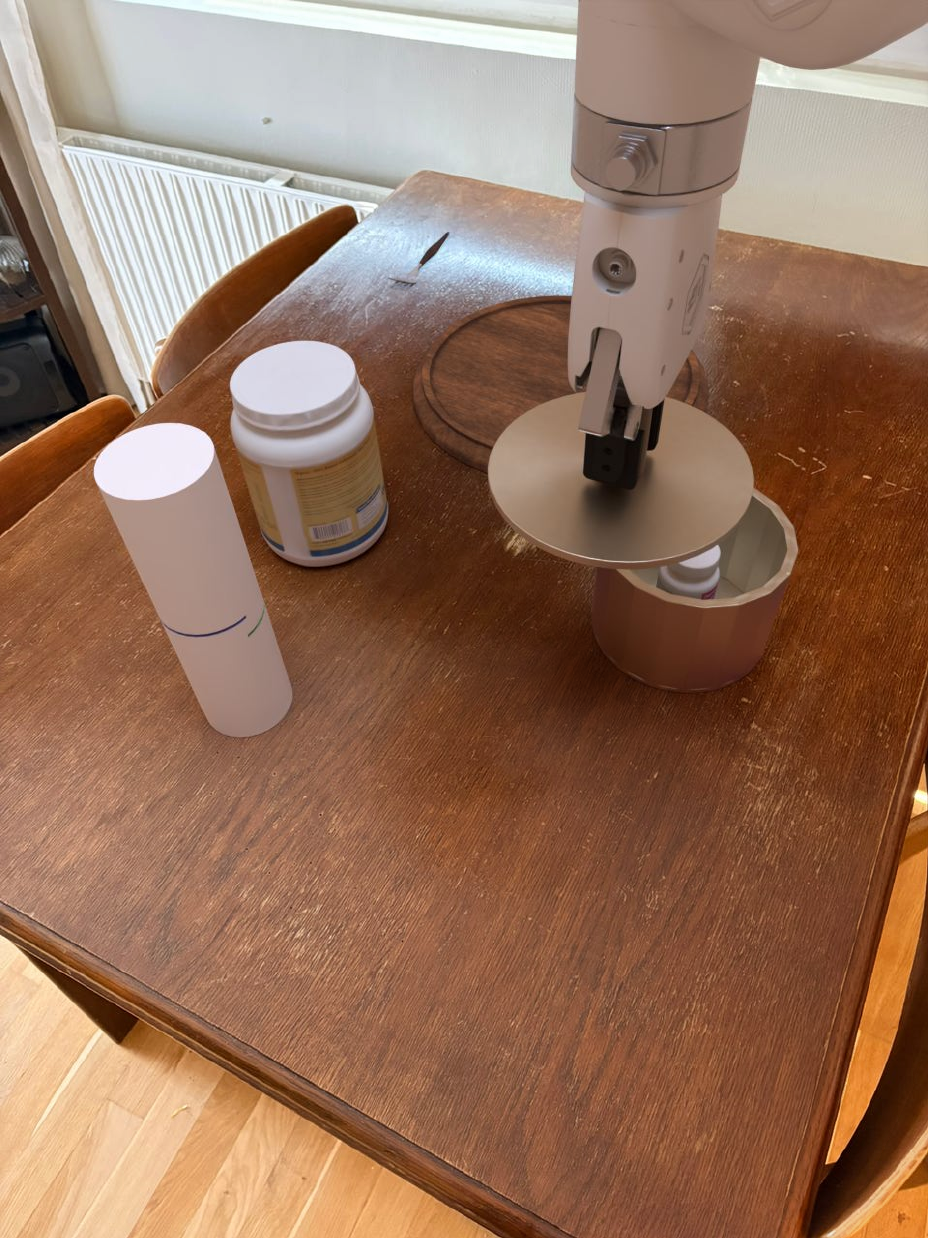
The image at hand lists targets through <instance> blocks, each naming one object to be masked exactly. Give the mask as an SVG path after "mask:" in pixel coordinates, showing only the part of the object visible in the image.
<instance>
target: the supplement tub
mask: <svg viewBox="0 0 928 1238" xmlns="http://www.w3.org/2000/svg"><path fill="white" fill-rule="evenodd" d="M229 390H230V395H231V402H232V407H233V408H232V411H231V416H230V433H231V438H232V441H233V443H234V447H235V450H236V453H237V456H238V460H239V463H240V467H241V469H242V473H243V476H244V480H245V483H246V486H247V490H248V493H249V496H250V500H251V502H252V506H253V510H254V513H255V516H256V519H257V522H258V526H259V530H260V533H261V535H262V537H263V539H264V541H265V542H266V544H267V545H268V546H269V548H270V549H271V550H272V551H273V552H274V553H275V554H276V555H278V556H279V557H281V558H282V559H283V560H286V561H288V562H290V563H293V564H295V565H299V566H303V567H315V568H316V567H317V568H318V567H329V566H333V565H339V564H342V563H345V562H347V561H350V560H352V559H354V558H357V557H358V556H360V555H361V554H363V553H365V552H366V551H367V550H369V549H370V548H371V547H372V546H373V545H374V544H375V543H376V542H378V540H379V538H381V535H382V534H383V532H384V530H385V528H386V526H387V524H388V518H389V517H388V516H389V504H388V503H389V502H388V500H387V492H386V487H385V481H384V474H383V468H382V461H381V460H382V459H381V454H380V448H379V440H378V434H377V433H378V432H377V427H376V421H375V411H374V406H373V404H372V401H371V397H370V395H369V394H368V392H367V390H366V389H365V387H364V386H363V385H362V384H361V382H360V377H359V376H358V373H357V370H356V365H355V362H354V361H353V359H352V357H351V356H350V354H348V352H346V351H345V350H343V349H342V348H340V347H339V346H336V345H334V344H331V343H327V342H323V341H316V340H292V341H287V342H282V343H277V344H274V345H270V346H268V347H265V348H262V349H261V350H258V351H256V352H254V353H253V354H251V355H250V356H248V357H246V358H245V359H244V360H243V361H242V362H241V363H239V364H238V365H237V367H236V368H235V370H234V371H233V373H232V374H231V377H230V381H229Z"/></svg>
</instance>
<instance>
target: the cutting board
mask: <svg viewBox="0 0 928 1238" xmlns="http://www.w3.org/2000/svg"><path fill="white" fill-rule="evenodd" d="M571 300H572V295H561V294H559V295H558V294H556V295H538V296H537V295H536V296H531V297H523V298H515V299H512V300H508V301H503V302H498V303H496V304H494V305H490V306H487V307H485V308H481V309H479V310H477V311H475V312H473V313H470V314H468V315H466V316H465V317H463V318H461V319H459V320H458V321H456V322H454V323H453V324H451V326H449V327H448V328H446V330H444V331H443V332H442V333H440V335H439V336H438V337H437V338H436V340H435V341H434V342H433V343H432V344H431V346H430V348H428V350H427V351H426V353H424V355H423V356H422V358H421V360H420V362H419V364H418V365H417V368H416V371H415V374H414V378H413V382H412V401H413V407H414V411H415V414H416V417H417V420H418V421H419V423H420V425H421V427H422V429H423V430H424V432H425V433H426V434H427V435H428V437H430V439H431V440H432V441H433V442H434V444H436V446H438V447H440V448H441V449H442V450H443V451H444V452H446V453H447V455H450V456H451V457H453V458H454V459H456V460H458V461H460V462H461V463H463V464H465V465H467V466H469V467H471V468H474V469H476V470H478V471H481V472H483V473H486V474H488V464H489V458H490V455H491V452H492V449H493V447H494V445H495V443H496V442H497V440H498V438H499V437H500V435H501V434H502V433H503V432H504V430H505V429H506V428H507V427H508V426H509V425H510V424H511V423H512V422H514V421H515V420H516V419H517V418H519V417H520V416H521V415H523V414H524V413H526V412H527V411H529V410H531V409H533V408H535V407H537V406H538V405H541V404H543V403H546V402H548V401H551V400H553V399H557V398H560V397H563V396H567V395H572V394H576V393H581V392H586V389H587V384H588V382H587V384H586V385H585V386H584V388H583V389H582V390H581V391H579V392H575V390H574V389H573V388H572V386H571V385H570V382H569V378H568V339H569V324H570V311H571ZM708 382H709V381H708V377H707V374H706V371H705V368H704V366H703V364H702V363H701V361H700V360H699V358H698V356H697V355H696V353H695V352H694V350H693V349H692V350H691V352H690V354H689V355H688V357H687V359H686V361H685V363H684V365H683V367H682V369H681V370H680V372H679V374H678V376H677V378H676V379H675V381H674V383H673V385H672V387H671V388H670V390H669V392H668V394H667V395H666V397H668V398H671V399H675V400H677V401H680V402H683V403H685V404H688V405H690V406H692V407H695V408H697V409H699V410H701V411H703V412H704V413H706V412H707V407H708V402H709V397H710V396H709V394H710V393H709V383H708Z"/></svg>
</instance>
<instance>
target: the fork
mask: <svg viewBox="0 0 928 1238" xmlns="http://www.w3.org/2000/svg"><path fill="white" fill-rule="evenodd" d="M449 234H450V231H447V232H445V233H444V234H443V235H442V236H441V237H440V238H439V239H438V240H436V242H434V243H433V244H432V245H431V246H429V248H428V249H427V250H426V251H425V253H424V254H423V256H422V258H421V259H420V260H419V263H418V264H417V265H416V267H414V268H413V269H412V270H410V271H409V272H407V273H406V276H408V277H415V278H416V277H417V278H418V277H419V276H420V274H419V269H420V268H421V267H422V266H424V265H425V264H426V263H428V261H430V260H431V259H432V258H433V257H434V256H435V255H436V254H437V253H438V251H439V249H440V248H441V246H442V245H443V244H444V243H445V241H446V239H447V237H449ZM408 277H407V278H406V277H399V278H392V277H388V279H387V280H390V281H395V282H401V283H406V284H411V285H412V284H417V283H418V280H416V279H412V278H408Z"/></svg>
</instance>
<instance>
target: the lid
mask: <svg viewBox="0 0 928 1238" xmlns="http://www.w3.org/2000/svg"><path fill="white" fill-rule="evenodd" d="M585 394H586V392H581V393H576V394H572V395H567V396H563V397H560V398H557V399H553V400H551V401H548V402H546V403H543V404H541V405H538V406H537V407H535V408H533V409H531V410H529V411H527V412H526V413H524V414H523V415H521V416H520V417H519V418H517V419H516V420H515V421H514V422H512V423H511V424H510V425H509V426H508V427H507V428H506V429H505V430H504V432H503V433H502V434H501V435H500V437H499V438H498V440H497V442H496V443H495V445H494V447H493V449H492V452H491V455H490V458H489V464H488V473H487V477H488V478H487V480H488V489H489V494H490V497H491V499H492V502H493V504H494V507H495V508H496V510H497V512H498V513H499V514H500V516H501V518H502V519H503V520H504V521H505V523H507V525H508V526H509V527H510V528H511V529H512V530H513V531H514V532H516V534H518V535H519V536H520V537H522V538H523V539H524V540H525V541H527V542H529V543H530V544H532V545H533V546H535V547H536V548H538V549H540V550H543V551H544V552H546V553H548V554H551V555H553V556H555V557H558V558H561V559H563V560H567V561H569V562H571V563H572V562H573V563H576V564H580V565H584V566H589V567H594V568H596V567H601V568H608V569H626V570H628V569H647V568H655V567H662V566H667V565H671V564H675V563H679V562H683V561H685V560H688V559H691V558H694V557H696V556H699V555H701V554H703V553H705V552H706V551H708V550H710V549H712V548H714V547H715V546H717V545H718V544H720V543H721V542H722V541H724V540H725V539H726V538H727V537H728V536H729V535H730V534H731V533H733V532H734V531H735V530H736V528H737V527H738V526H739V524H740V523H741V522H742V520H743V519H744V517H745V515H746V513H747V511H748V509H749V505H750V502H751V498H752V494H753V489H754V488H755V487H754V486H755V477H754V468H753V466H752V463H751V459H750V457H749V455H748V453H747V451H746V450H745V448H744V446H743V444H742V443H741V442H740V440H739V439H738V438H737V436H736V435H734V434H733V432H731V431H730V430H729V429H728V428H727V427H726V426H725V425H724V424H722V423H721V422H720V421H719V420H717V419H716V418H715V417H713V416H711V415H709V414H708V413H706V412H705V413H704V412H703V411H701V410H699V409H697V408H695V407H692V406H690V405H688V404H685V403H683V402H680V401H677V400H675V399H671V398H668V397H665V400H664V407H663V413H662V420H661V427H660V433H659V440H658V444H657V446H656V448H655V449H654V450H652V451H647V446H648V439H649V432H650V425H651V418H652V411H653V408H651V409H645V408H644V407H642V413H641V420H640V426H639V429H641V430H645V433H644V440H643V448H642V455H641V462H640V470H639V477H638V482H637V484H636V486H635V488H634V489H632V490H628V489H624V488H620V487H617V486H613V485H609V484H605V483H602V482H598V481H594V480H590V479H587V478H586V477H585V476H584V475H583V463H584V449H585V436H586V433H585V432H581V431H579V429H578V428H579V421H580V416H581V412H582V407H583V403H584V398H585ZM628 402H629V399H625V398H621V397H616V396H615V397H614V402H613V407H615V408H619V409H623V410H624V411H625V412H626V413H627V409H628Z"/></svg>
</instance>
